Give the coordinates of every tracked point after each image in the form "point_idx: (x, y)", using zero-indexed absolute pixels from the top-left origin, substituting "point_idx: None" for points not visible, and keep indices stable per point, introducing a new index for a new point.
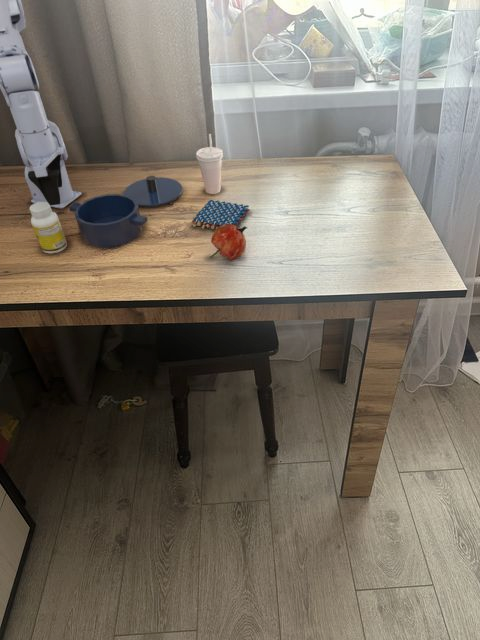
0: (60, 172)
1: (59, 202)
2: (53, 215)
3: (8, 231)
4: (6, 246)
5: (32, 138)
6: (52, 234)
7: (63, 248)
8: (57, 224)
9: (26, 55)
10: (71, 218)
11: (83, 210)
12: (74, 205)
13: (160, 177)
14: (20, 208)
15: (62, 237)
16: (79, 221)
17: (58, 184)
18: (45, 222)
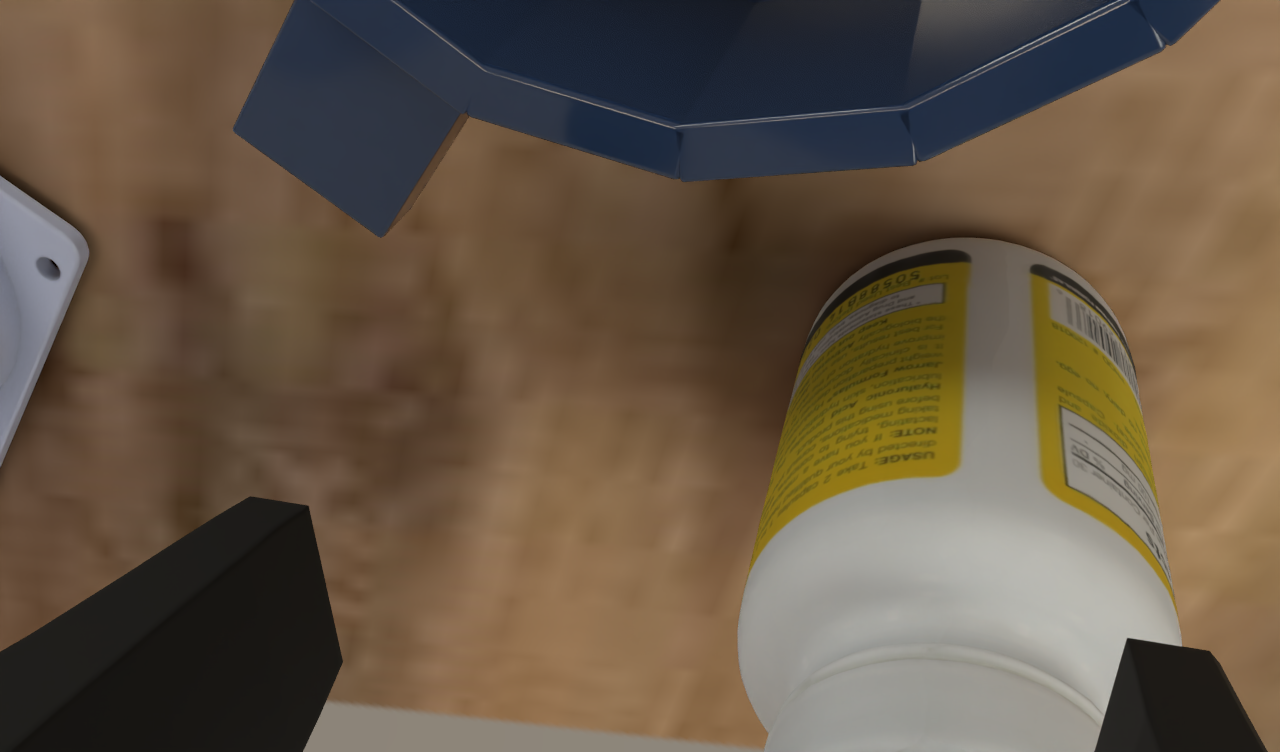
0: (55, 713)
1: (1225, 688)
2: (1006, 588)
3: (481, 700)
4: (750, 741)
5: None
6: (1156, 510)
7: (1092, 290)
8: (1079, 479)
9: None
10: None
11: (475, 1)
12: (337, 150)
13: None
14: (86, 582)
15: (1061, 336)
16: (1041, 104)
17: (284, 595)
18: None
